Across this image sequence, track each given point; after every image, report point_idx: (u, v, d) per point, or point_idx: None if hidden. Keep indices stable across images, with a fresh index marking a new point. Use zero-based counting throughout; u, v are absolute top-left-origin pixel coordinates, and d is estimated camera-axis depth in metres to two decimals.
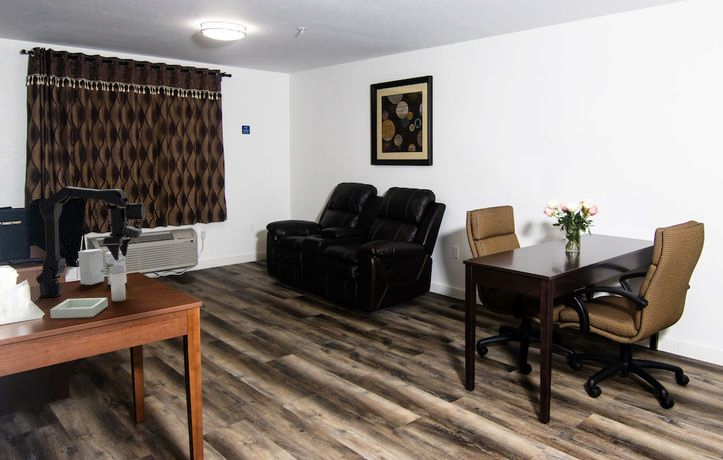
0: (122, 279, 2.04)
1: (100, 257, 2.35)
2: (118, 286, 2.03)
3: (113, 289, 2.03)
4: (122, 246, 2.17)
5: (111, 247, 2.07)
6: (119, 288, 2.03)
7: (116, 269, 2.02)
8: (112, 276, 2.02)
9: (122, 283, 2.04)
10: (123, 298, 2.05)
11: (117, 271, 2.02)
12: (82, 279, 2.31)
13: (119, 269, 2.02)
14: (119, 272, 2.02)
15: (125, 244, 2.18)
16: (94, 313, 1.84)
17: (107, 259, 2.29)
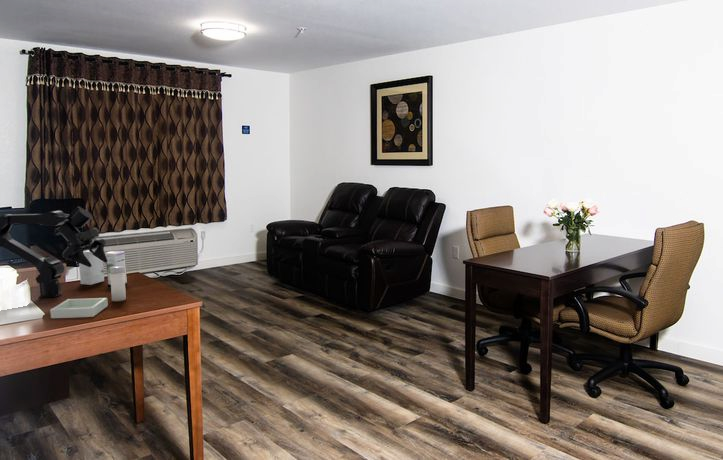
0: (122, 279, 2.04)
1: None
2: (118, 286, 2.03)
3: (113, 289, 2.03)
4: (99, 255, 2.13)
5: (77, 258, 2.03)
6: (119, 288, 2.03)
7: (116, 269, 2.02)
8: (112, 276, 2.02)
9: (122, 283, 2.04)
10: (123, 298, 2.05)
11: (117, 271, 2.02)
12: (82, 279, 2.31)
13: (119, 269, 2.02)
14: (119, 272, 2.02)
15: (100, 252, 2.13)
16: (94, 313, 1.84)
17: (107, 259, 2.29)
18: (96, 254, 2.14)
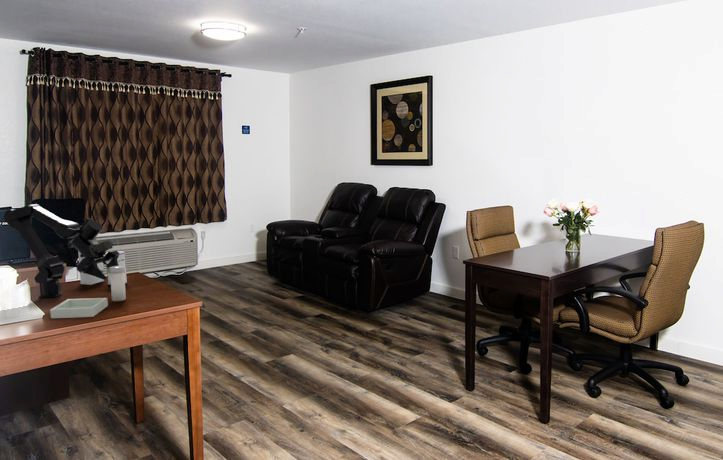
0: (122, 279, 2.04)
1: None
2: (118, 286, 2.03)
3: (113, 289, 2.03)
4: None
5: (91, 271, 1.99)
6: (119, 288, 2.03)
7: (116, 269, 2.02)
8: (112, 276, 2.02)
9: (122, 283, 2.04)
10: (123, 298, 2.05)
11: (117, 271, 2.02)
12: (82, 279, 2.31)
13: (119, 269, 2.02)
14: (119, 272, 2.02)
15: (113, 264, 2.10)
16: (94, 313, 1.84)
17: None
18: (110, 266, 2.10)
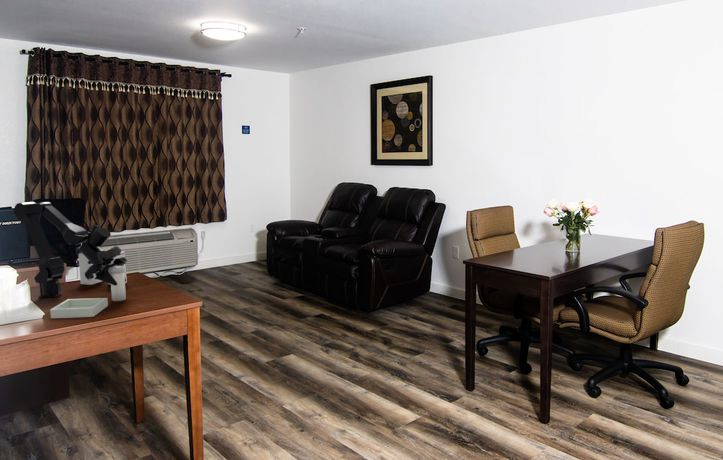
0: (122, 279, 2.04)
1: None
2: (118, 286, 2.03)
3: (113, 289, 2.03)
4: None
5: (102, 277, 2.01)
6: (119, 288, 2.03)
7: (116, 269, 2.02)
8: (112, 276, 2.02)
9: (122, 283, 2.04)
10: (123, 298, 2.05)
11: (117, 271, 2.02)
12: (82, 279, 2.31)
13: (119, 269, 2.02)
14: (119, 272, 2.02)
15: None
16: (94, 313, 1.84)
17: None
18: None
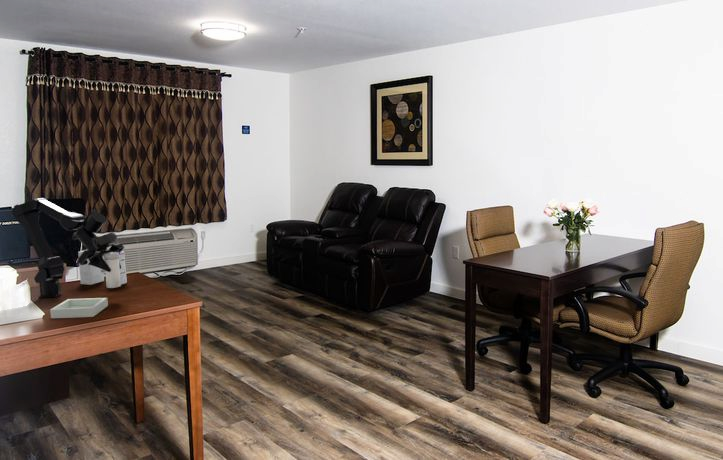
0: (116, 266, 2.00)
1: None
2: (112, 273, 1.99)
3: (107, 275, 1.99)
4: None
5: (96, 263, 1.98)
6: (113, 275, 1.99)
7: (110, 255, 1.98)
8: (106, 262, 1.99)
9: (116, 270, 2.00)
10: (117, 285, 2.01)
11: (111, 257, 1.98)
12: (82, 279, 2.31)
13: (113, 255, 1.99)
14: (113, 258, 1.99)
15: None
16: (94, 313, 1.84)
17: None
18: None
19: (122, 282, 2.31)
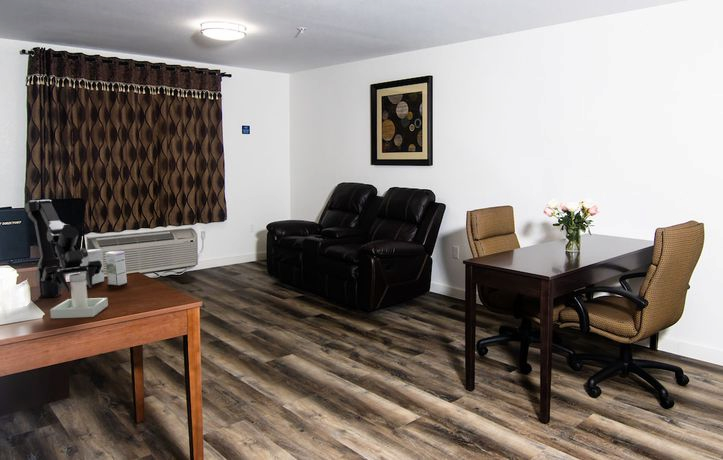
0: (80, 289, 1.86)
1: (100, 257, 2.35)
2: (75, 297, 1.86)
3: None
4: (87, 279, 1.92)
5: (59, 281, 1.86)
6: (76, 299, 1.86)
7: (72, 277, 1.85)
8: (70, 284, 1.86)
9: (79, 293, 1.86)
10: None
11: (73, 280, 1.85)
12: None
13: (75, 278, 1.85)
14: (75, 281, 1.85)
15: (88, 275, 1.91)
16: (94, 313, 1.84)
17: (107, 259, 2.29)
18: (86, 277, 1.93)
19: (122, 282, 2.31)
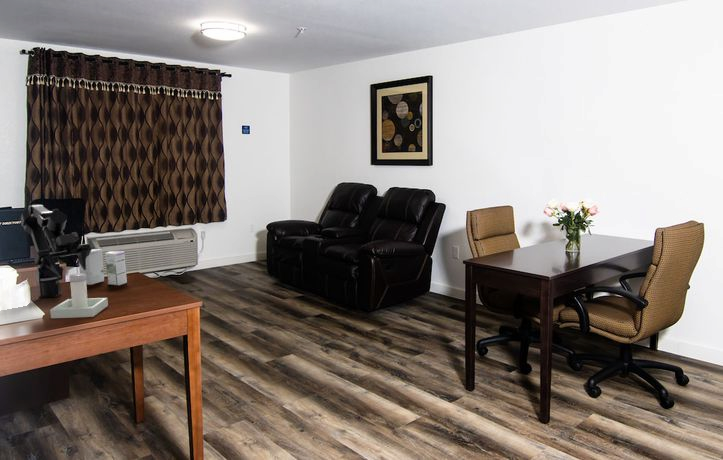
0: (80, 289, 1.86)
1: (100, 257, 2.35)
2: (75, 296, 1.86)
3: None
4: (81, 261, 1.99)
5: (48, 265, 1.92)
6: (76, 299, 1.86)
7: (72, 277, 1.85)
8: (70, 284, 1.86)
9: (79, 293, 1.86)
10: None
11: (73, 280, 1.85)
12: None
13: (75, 278, 1.85)
14: (75, 281, 1.85)
15: (81, 258, 1.99)
16: (94, 313, 1.84)
17: (107, 259, 2.29)
18: (79, 260, 2.00)
19: (122, 282, 2.31)
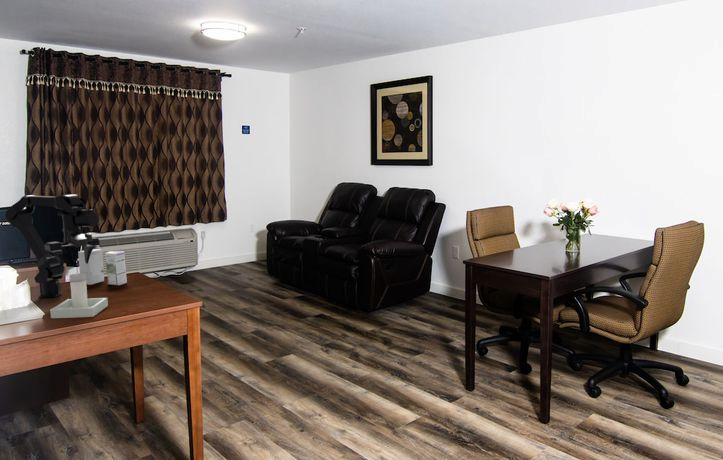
0: (80, 289, 1.86)
1: (100, 257, 2.35)
2: (75, 296, 1.86)
3: None
4: (85, 253, 2.11)
5: (55, 253, 2.03)
6: (76, 299, 1.86)
7: (72, 277, 1.85)
8: (70, 284, 1.86)
9: (79, 293, 1.86)
10: None
11: (73, 280, 1.85)
12: None
13: (75, 278, 1.85)
14: (75, 281, 1.85)
15: (87, 251, 2.11)
16: (94, 313, 1.84)
17: (107, 259, 2.29)
18: (84, 249, 2.12)
19: (122, 282, 2.31)
